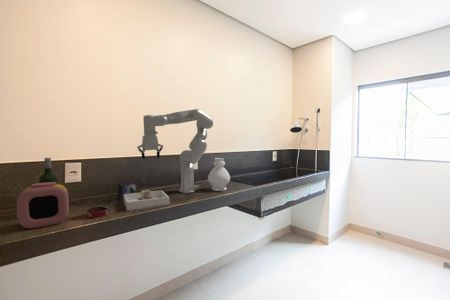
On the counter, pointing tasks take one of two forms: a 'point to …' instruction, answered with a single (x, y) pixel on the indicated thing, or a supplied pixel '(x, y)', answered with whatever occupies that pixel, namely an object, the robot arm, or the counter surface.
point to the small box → (126, 189)
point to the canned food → (97, 211)
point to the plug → (145, 194)
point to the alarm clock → (42, 205)
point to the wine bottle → (48, 173)
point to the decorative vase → (219, 175)
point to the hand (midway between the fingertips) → (151, 158)
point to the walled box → (136, 202)
